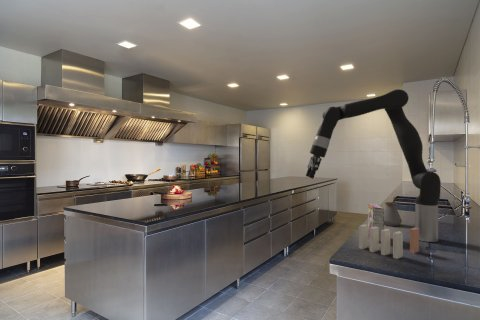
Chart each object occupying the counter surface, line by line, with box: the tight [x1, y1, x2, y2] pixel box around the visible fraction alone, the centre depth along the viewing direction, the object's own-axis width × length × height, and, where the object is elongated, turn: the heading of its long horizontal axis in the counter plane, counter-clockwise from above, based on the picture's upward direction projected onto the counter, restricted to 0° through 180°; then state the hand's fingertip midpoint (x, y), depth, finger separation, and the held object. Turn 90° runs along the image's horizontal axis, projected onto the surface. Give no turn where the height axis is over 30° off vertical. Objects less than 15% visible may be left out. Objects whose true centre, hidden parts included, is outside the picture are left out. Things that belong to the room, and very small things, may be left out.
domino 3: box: [380, 228, 391, 256], centre depth 121 cm, size 4×2×10 cm, turn 125°
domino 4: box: [392, 230, 404, 260], centre depth 117 cm, size 4×2×10 cm, turn 125°
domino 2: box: [369, 227, 380, 253], centre depth 125 cm, size 4×2×10 cm, turn 125°
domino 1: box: [358, 223, 369, 250], centre depth 129 cm, size 4×2×10 cm, turn 125°
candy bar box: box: [367, 203, 385, 243], centre depth 143 cm, size 11×5×16 cm, turn 168°
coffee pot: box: [383, 196, 403, 227], centre depth 176 cm, size 21×12×15 cm, turn 142°
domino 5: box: [409, 227, 420, 254], centre depth 123 cm, size 4×2×10 cm, turn 125°
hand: (309, 177), depth 144 cm, fingers open, 8 cm apart
